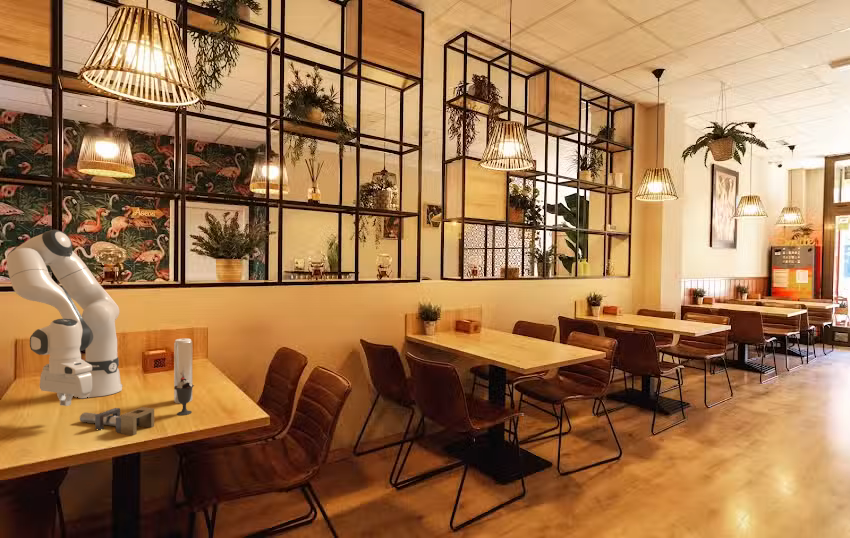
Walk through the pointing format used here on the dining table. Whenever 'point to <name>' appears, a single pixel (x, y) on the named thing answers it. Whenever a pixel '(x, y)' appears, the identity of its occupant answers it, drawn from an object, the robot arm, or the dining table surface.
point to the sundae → (184, 394)
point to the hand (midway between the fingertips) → (65, 405)
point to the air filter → (182, 363)
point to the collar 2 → (118, 423)
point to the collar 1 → (100, 416)
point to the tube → (91, 419)
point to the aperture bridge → (130, 420)
